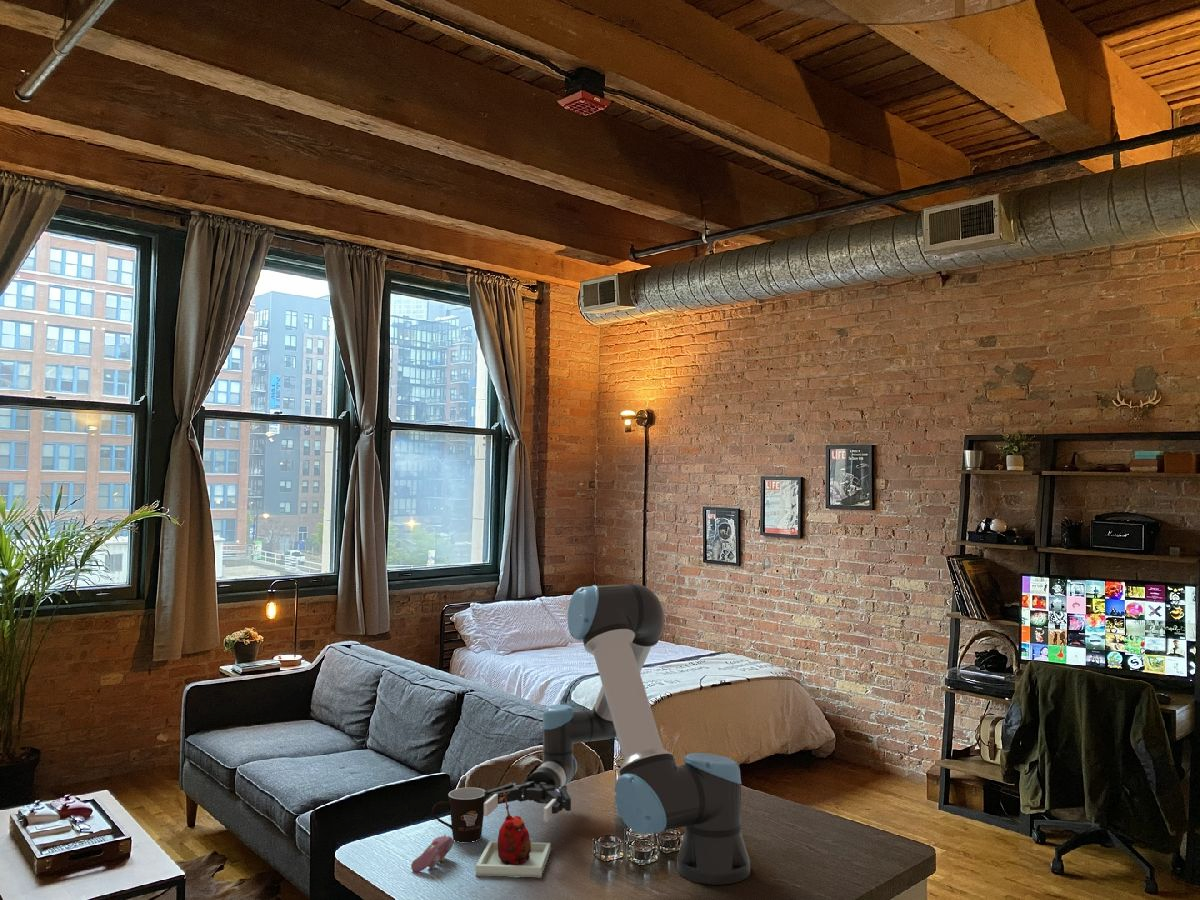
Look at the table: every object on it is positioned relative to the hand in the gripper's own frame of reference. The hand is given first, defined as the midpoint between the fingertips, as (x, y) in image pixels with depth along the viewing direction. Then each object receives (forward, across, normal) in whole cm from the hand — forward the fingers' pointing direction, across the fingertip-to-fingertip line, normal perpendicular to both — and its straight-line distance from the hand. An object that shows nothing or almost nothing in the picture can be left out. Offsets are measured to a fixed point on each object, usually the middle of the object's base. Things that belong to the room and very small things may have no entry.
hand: (515, 812), depth 192 cm
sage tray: (+1, 0, -10) cm, 10 cm away
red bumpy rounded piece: (+1, 0, -10) cm, 10 cm away
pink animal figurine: (+6, +16, -11) cm, 20 cm away
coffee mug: (-10, +17, -11) cm, 22 cm away
